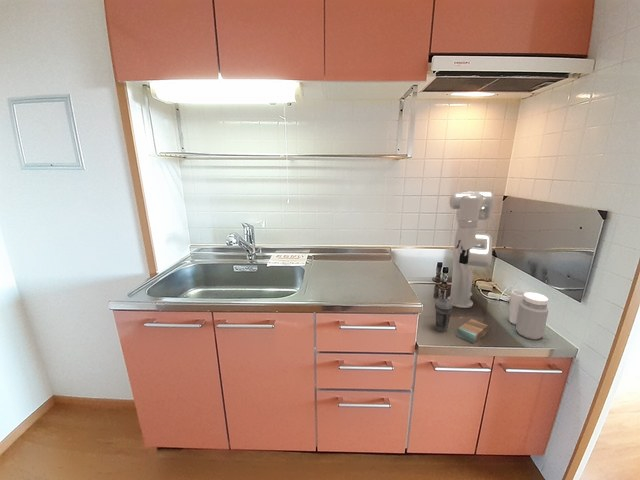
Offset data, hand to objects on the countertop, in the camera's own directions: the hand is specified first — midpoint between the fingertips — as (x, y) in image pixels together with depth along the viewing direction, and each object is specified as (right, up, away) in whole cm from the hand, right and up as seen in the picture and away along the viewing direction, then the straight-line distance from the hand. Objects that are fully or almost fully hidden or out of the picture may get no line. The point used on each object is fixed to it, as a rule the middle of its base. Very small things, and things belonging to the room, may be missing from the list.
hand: (463, 263), depth 124 cm
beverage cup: (-10, -30, +1) cm, 32 cm away
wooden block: (+7, -28, -1) cm, 29 cm away
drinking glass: (+27, -28, +4) cm, 39 cm away
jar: (+26, -31, -5) cm, 41 cm away
